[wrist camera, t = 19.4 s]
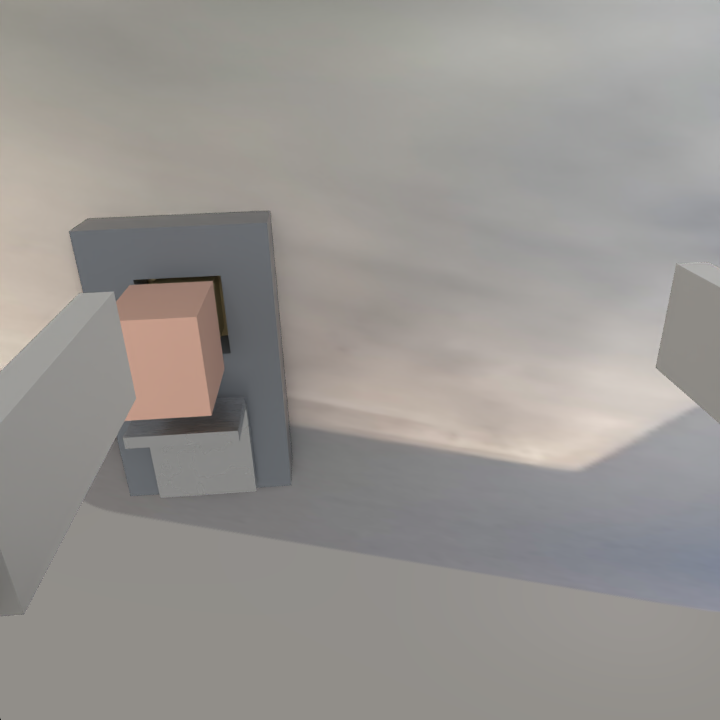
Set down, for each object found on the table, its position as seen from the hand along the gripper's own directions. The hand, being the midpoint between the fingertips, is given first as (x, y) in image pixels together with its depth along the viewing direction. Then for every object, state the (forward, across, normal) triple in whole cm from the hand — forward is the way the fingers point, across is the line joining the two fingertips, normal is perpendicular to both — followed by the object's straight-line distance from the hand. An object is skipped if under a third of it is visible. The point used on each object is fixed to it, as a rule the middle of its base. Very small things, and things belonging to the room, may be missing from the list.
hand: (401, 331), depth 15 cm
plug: (+28, -11, -9) cm, 32 cm away
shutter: (+25, -11, -19) cm, 33 cm away
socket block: (+29, -11, -13) cm, 33 cm away
